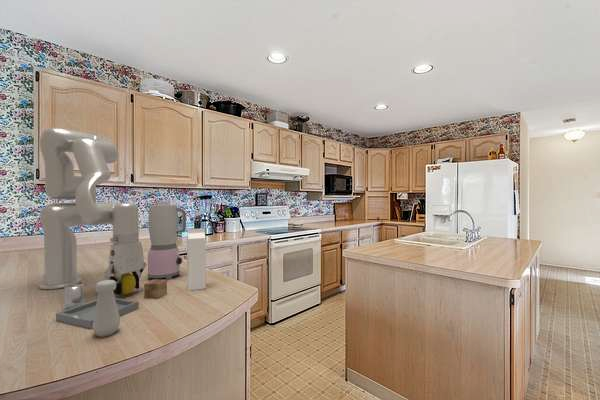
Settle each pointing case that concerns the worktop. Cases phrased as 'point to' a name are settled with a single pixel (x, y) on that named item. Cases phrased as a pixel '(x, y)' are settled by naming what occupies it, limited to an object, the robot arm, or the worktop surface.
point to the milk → (196, 259)
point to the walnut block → (155, 289)
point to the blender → (164, 240)
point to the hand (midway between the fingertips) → (126, 290)
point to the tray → (92, 312)
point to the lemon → (127, 283)
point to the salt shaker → (106, 309)
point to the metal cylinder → (73, 296)
